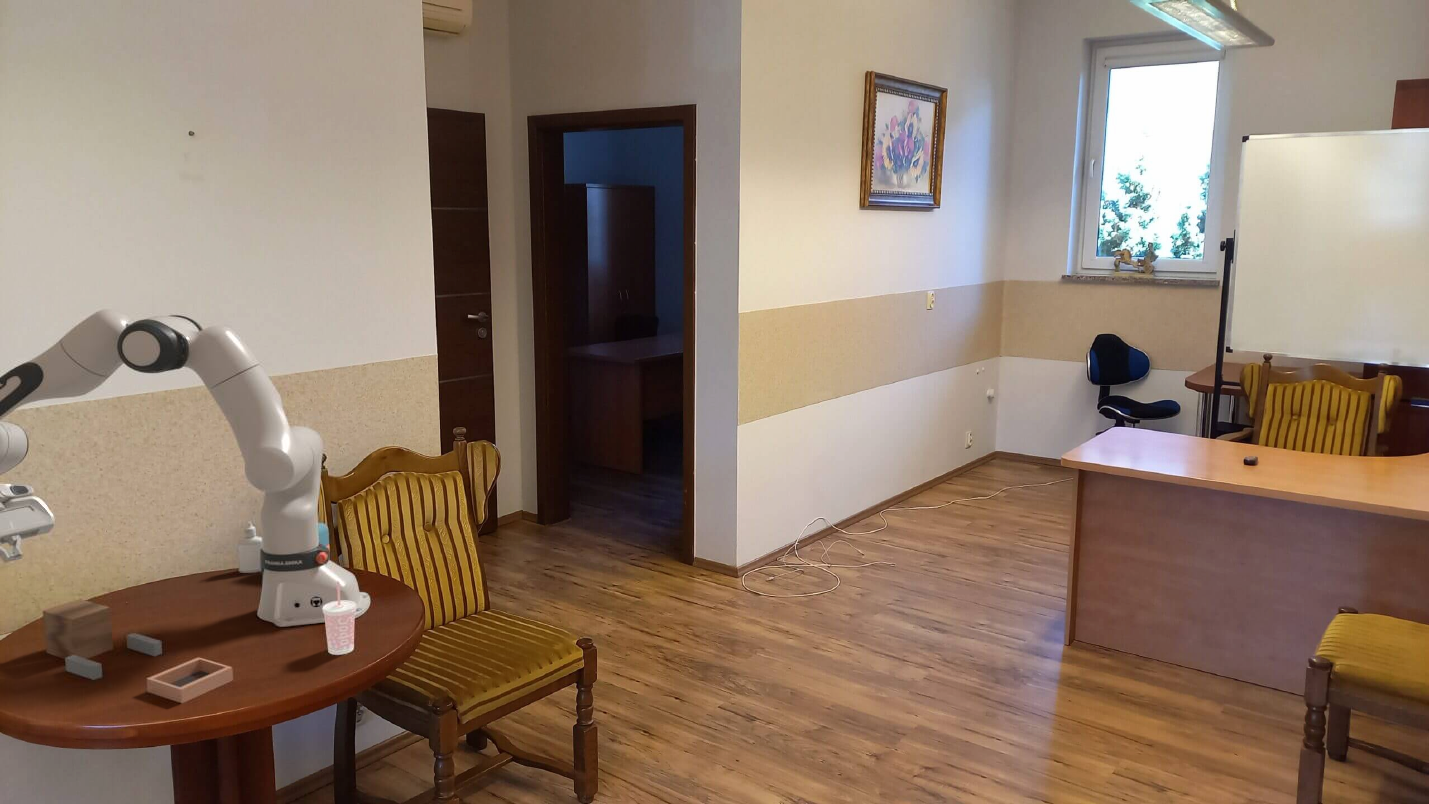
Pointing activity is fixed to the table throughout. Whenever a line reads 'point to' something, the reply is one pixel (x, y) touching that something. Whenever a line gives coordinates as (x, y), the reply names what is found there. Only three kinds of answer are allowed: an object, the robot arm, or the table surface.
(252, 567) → the eye dropper bottle
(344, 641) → the beverage cup
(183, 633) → the table surface
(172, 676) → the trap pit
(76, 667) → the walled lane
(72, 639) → the walnut block
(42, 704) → the table surface
